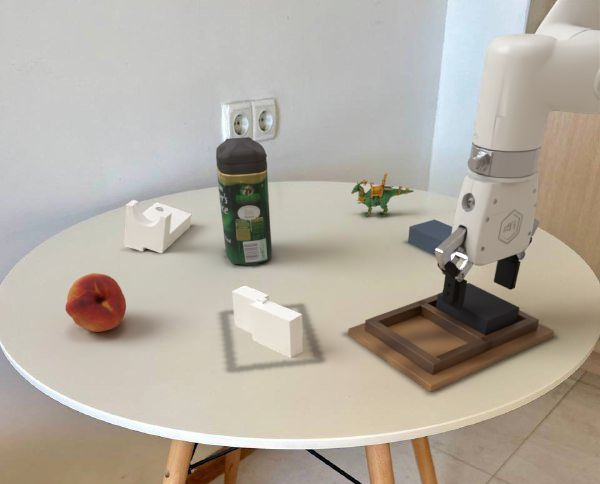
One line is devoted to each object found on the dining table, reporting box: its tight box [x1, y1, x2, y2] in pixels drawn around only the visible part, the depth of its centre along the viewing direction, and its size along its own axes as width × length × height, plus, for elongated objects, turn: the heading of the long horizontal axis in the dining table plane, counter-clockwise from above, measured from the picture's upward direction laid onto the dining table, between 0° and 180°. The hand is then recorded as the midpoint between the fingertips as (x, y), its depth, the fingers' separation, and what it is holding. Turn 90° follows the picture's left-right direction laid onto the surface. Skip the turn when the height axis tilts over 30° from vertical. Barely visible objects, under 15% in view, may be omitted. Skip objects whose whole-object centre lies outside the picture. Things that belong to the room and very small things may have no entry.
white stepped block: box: [231, 284, 318, 359], centre depth 78 cm, size 15×11×6 cm
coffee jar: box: [215, 136, 273, 266], centre depth 96 cm, size 10×8×19 cm
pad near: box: [436, 282, 520, 335], centre depth 80 cm, size 9×6×3 cm, turn 33°
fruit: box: [65, 272, 127, 333], centre depth 80 cm, size 8×8×8 cm
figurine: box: [351, 172, 415, 218], centre depth 114 cm, size 3×12×8 cm, turn 87°
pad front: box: [407, 219, 453, 257], centre depth 102 cm, size 9×6×3 cm, turn 33°
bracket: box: [123, 199, 193, 254], centre depth 106 cm, size 13×7×8 cm, turn 166°
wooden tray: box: [347, 293, 555, 393], centre depth 78 cm, size 16×22×2 cm
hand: (478, 295), depth 78 cm, fingers open, 9 cm apart
